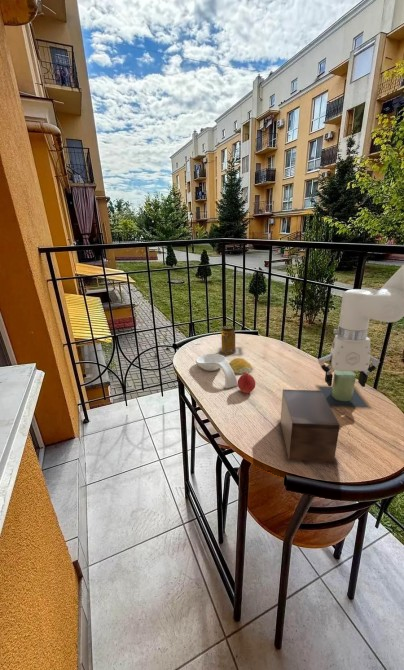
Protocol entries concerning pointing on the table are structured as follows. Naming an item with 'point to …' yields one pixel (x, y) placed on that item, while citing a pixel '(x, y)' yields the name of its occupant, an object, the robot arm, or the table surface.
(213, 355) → the spoon rest
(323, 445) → the brown block
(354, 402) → the mat
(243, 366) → the bread roll
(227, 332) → the condiment
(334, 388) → the tea tin
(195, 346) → the table surface
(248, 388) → the onion
